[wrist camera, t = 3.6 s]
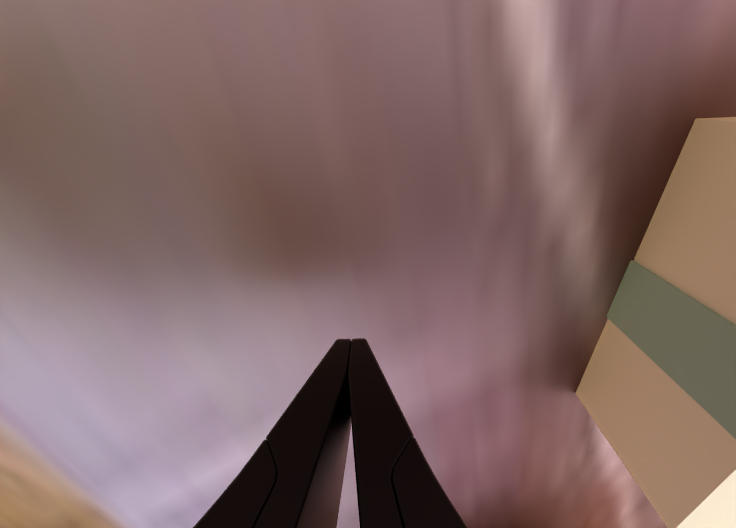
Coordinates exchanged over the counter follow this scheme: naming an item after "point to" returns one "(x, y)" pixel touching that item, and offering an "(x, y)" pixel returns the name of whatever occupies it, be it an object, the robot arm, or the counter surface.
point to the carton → (678, 343)
